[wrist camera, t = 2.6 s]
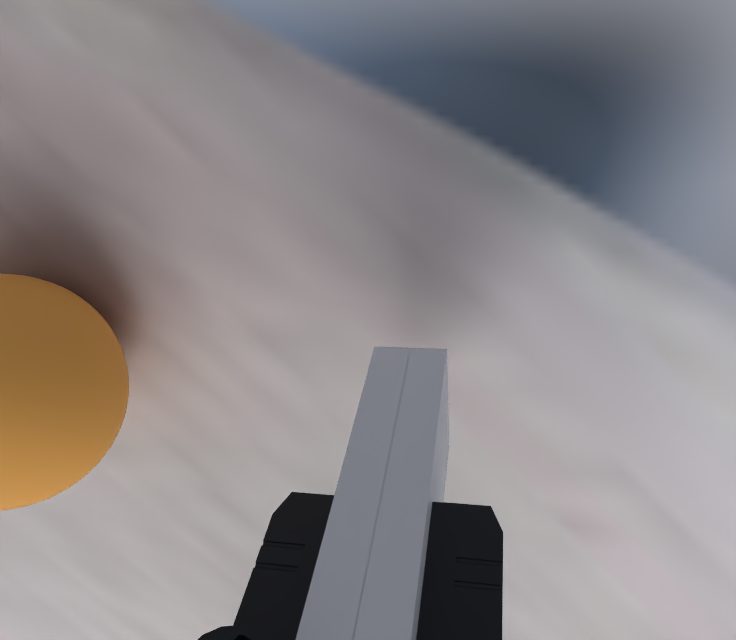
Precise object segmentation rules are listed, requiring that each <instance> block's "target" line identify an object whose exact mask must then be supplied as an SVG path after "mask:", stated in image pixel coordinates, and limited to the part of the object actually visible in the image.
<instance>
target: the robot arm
mask: <svg viewBox="0 0 736 640" xmlns="http://www.w3.org/2000/svg"><path fill="white" fill-rule="evenodd" d="M448 450H449V424H448V376H447V349H427V348H400V347H374V351H373V354H372V358H371V362H370V365H369V369H368V373H367V377H366V380H365V384H364V388H363V391H362V395H361V399H360V402H359V406H358V410H357V414H356V417H355V421H354V425H353V428H352V432H351V436H350V440H349V443H348V447H347V451H346V454H345V458H344V462H343V466H342V469H341V473H340V477H339V480H338V484H337V488H336V491H335V495H323V494H310V493H298V492H291V494H290V495H289V496H288V497H287V498H286V499H285V501H284V502H283V503H282V504H281V505H280V506H279V507H278V509H277V510H276V511H275V512H274V513H273V515H272V517H271V520H270V523H269V526H268V529H267V532H266V534H265V537H264V540H263V546H261V549H260V551H259V554H258V557H257V560H256V566H255V568H253V571H252V574H251V577H250V580H249V582H248V585H247V588H246V591H245V594H244V596H243V599H242V602H241V605H240V608H239V611H238V613H237V616H236V619H235V622H234V625H233V626H224V627H220V628H217V629H215V630H213V631H211V632H208V633H206V634H204V635H202V636H201V637H200V638H199V639H198V640H502V586H503V531H502V529H501V527H500V525H499V523H498V521H497V518H496V516H495V514H494V512H493V510H492V508H491V506H482V505H469V504H457V503H444V502H443V499H444V490H445V480H446V470H447V460H448Z"/></svg>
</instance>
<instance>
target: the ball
mask: <svg viewBox="0 0 736 640" xmlns="http://www.w3.org/2000/svg"><path fill="white" fill-rule="evenodd" d="M128 395H129V377H128V370H127V365H126V361H125V357H124V354H123V350H122V348H121V346H120V343H119V341H118V339H117V338H116V336H115V334H114V332H113V331H112V329H111V327H110V326H109V325H108V323H107V322H106V321H105V319H104V318H103V317H102V316H101V315H100V314H99V313H98V312H97V311H96V310H95V309H94V308H93V307H92V306H91V305H90V304H89V303H87V302H86V301H85V300H83V299H82V298H81V297H79V296H78V295H76V294H74V293H73V292H71V291H69V290H67V289H65V288H63V287H61V286H59V285H56V284H54V283H51V282H48V281H45V280H42V279H38V278H35V277H30V276H25V275H14V274H0V510H8V509H14V508H19V507H24V506H28V505H31V504H34V503H37V502H40V501H43V500H46V499H48V498H51V497H53V496H54V495H56V494H58V493H60V492H62V491H64V490H66V489H67V488H69V487H71V486H72V485H73V484H75V483H76V482H78V481H79V480H80V479H82V478H83V477H84V476H85V475H86V474H88V473H89V472H90V471H91V470H92V469H93V468H94V467H95V466H96V465H97V464H98V463H99V461H100V460H101V459H102V457H103V456H104V455H105V454H106V452H107V451H108V450H109V448H110V447H111V445H112V444H113V442H114V440H115V438H116V436H117V434H118V432H119V430H120V428H121V425H122V422H123V419H124V417H125V412H126V408H127V402H128Z"/></svg>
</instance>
